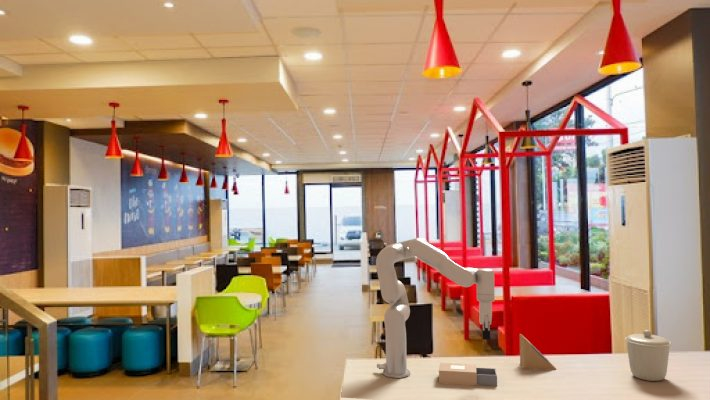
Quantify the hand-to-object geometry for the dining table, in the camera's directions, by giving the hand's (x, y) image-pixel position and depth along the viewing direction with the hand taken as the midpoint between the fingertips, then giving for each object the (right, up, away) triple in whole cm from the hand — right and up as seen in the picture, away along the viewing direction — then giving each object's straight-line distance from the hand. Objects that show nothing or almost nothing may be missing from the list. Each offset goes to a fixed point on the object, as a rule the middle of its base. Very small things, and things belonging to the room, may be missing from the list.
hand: (486, 339), depth 225 cm
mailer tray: (-3, -19, +1) cm, 19 cm away
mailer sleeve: (-12, -19, +3) cm, 23 cm away
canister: (+73, -18, +4) cm, 76 cm away
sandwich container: (+30, -19, +21) cm, 41 cm away
